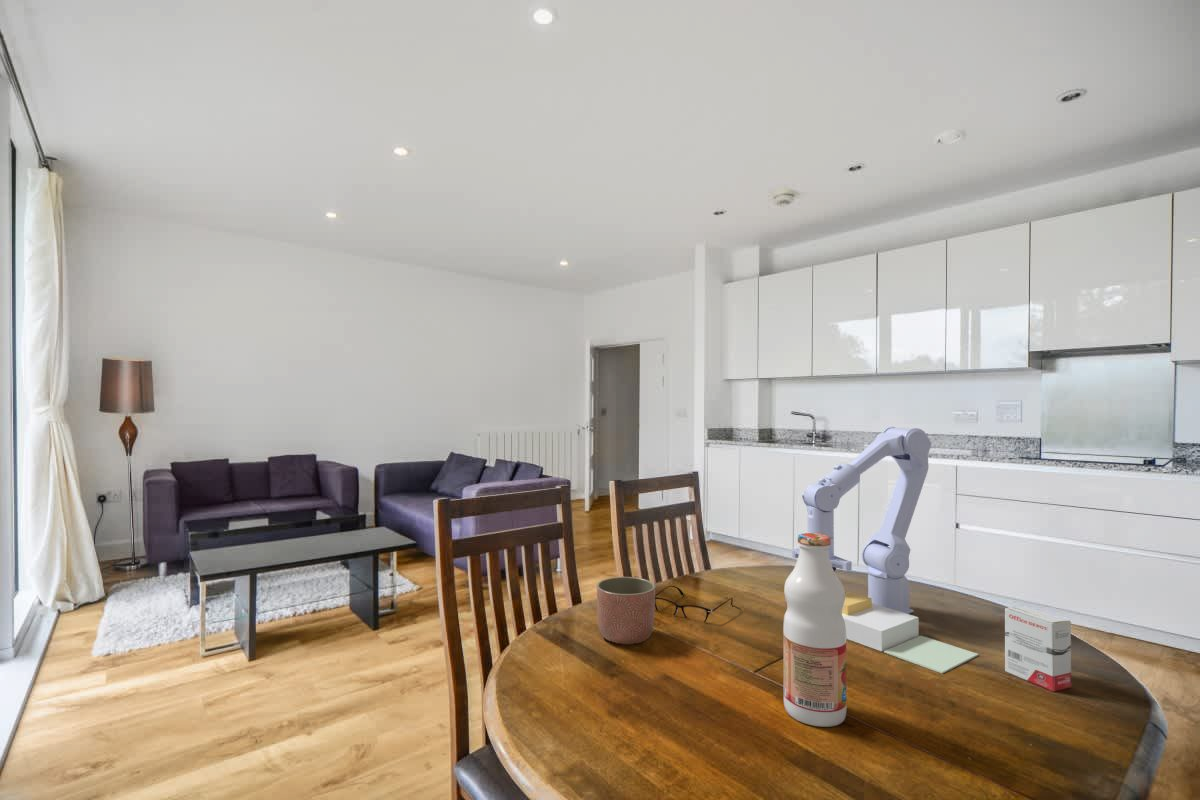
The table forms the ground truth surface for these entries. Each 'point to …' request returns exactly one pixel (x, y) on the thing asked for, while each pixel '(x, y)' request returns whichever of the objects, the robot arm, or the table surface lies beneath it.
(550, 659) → the table surface
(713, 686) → the table surface
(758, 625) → the table surface
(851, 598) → the yellow rectangular block
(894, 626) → the white box
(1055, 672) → the ink box
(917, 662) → the mat
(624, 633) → the planter
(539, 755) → the table surface
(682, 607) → the eyeglasses
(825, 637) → the fruit juice
